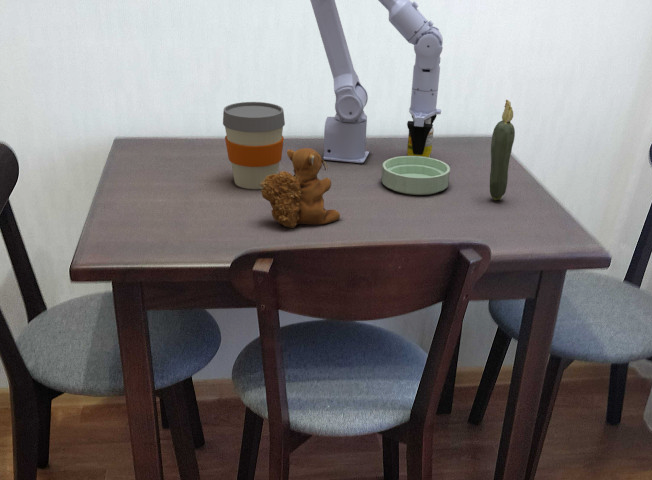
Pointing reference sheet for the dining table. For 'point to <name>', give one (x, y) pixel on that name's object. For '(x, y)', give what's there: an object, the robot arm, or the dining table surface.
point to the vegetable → (501, 153)
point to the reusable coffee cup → (253, 141)
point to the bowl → (415, 175)
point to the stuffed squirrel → (299, 191)
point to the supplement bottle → (427, 146)
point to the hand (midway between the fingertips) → (419, 150)
